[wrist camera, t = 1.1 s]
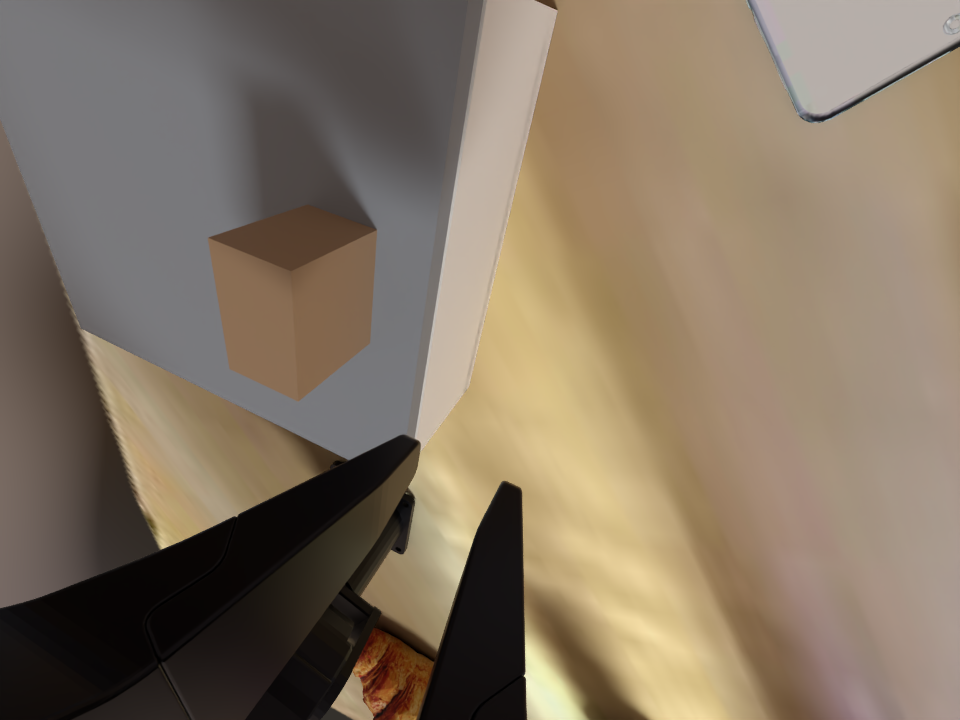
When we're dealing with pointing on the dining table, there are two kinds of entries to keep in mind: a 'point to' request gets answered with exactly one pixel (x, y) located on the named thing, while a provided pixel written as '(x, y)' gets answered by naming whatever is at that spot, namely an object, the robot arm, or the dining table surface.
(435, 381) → the lidded box
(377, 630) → the croissant
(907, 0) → the smartphone
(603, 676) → the dining table surface
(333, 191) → the lid
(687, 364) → the dining table surface
